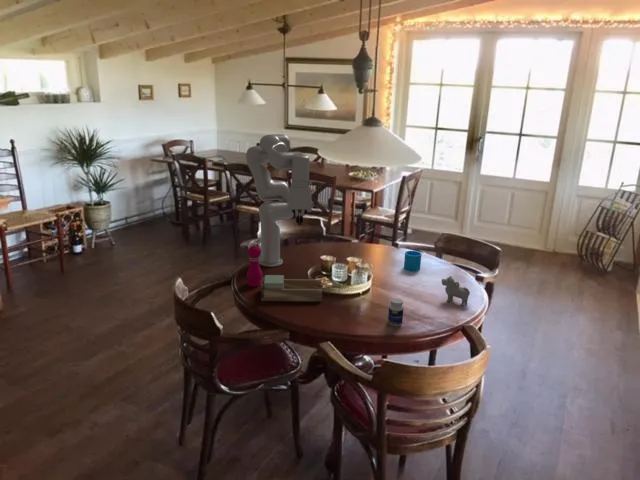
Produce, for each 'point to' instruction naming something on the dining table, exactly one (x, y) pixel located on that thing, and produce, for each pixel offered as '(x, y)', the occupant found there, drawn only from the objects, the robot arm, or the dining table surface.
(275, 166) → the robot arm
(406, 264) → the mug
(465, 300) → the dog figurine
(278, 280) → the grey-green block
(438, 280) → the dining table surface
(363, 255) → the dining table surface
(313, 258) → the dining table surface
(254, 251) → the pepper mill
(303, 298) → the bay
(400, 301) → the pill bottle
